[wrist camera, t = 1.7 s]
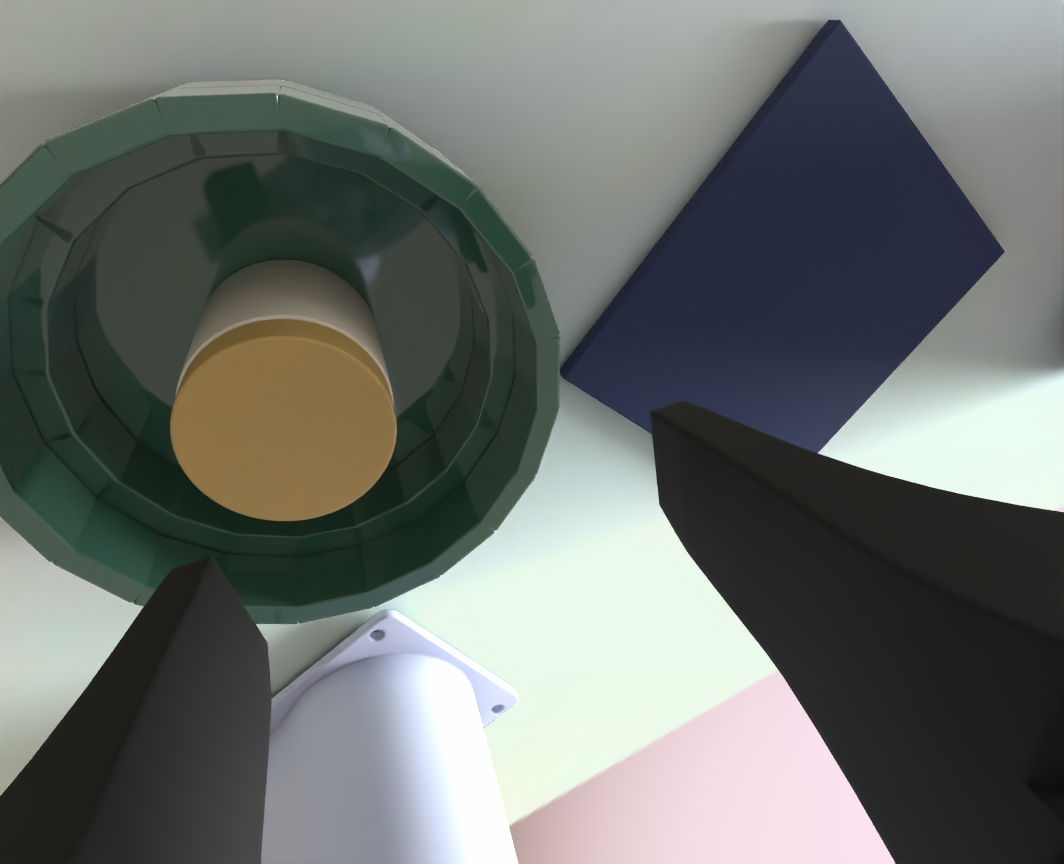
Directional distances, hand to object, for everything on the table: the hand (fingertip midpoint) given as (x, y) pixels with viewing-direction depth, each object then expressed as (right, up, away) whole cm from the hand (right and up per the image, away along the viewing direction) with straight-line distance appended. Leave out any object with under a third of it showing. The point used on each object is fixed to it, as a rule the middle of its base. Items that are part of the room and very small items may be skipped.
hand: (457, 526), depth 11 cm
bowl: (-5, +4, +7) cm, 10 cm away
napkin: (+10, +6, +11) cm, 16 cm away
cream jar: (-5, +4, +7) cm, 9 cm away
